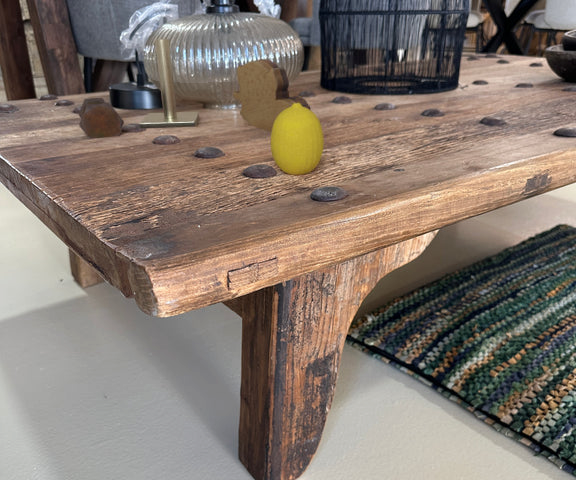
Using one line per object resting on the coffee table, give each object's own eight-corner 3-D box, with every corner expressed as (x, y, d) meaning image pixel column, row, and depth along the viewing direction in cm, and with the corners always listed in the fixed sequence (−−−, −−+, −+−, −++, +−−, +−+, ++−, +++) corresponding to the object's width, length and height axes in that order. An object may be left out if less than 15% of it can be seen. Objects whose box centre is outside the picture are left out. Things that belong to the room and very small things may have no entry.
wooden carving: (321, 142, 76) (322, 62, 71) (295, 148, 74) (294, 65, 69) (250, 123, 88) (247, 53, 83) (225, 128, 85) (220, 56, 80)
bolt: (103, 134, 91) (112, 152, 78) (71, 120, 88) (75, 136, 76) (116, 99, 90) (128, 112, 77) (84, 84, 87) (91, 95, 74)
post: (141, 131, 84) (128, 41, 78) (149, 120, 91) (138, 37, 85) (195, 129, 84) (187, 40, 79) (199, 119, 92) (192, 36, 86)
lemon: (278, 189, 58) (276, 109, 55) (267, 174, 63) (264, 99, 59) (329, 185, 59) (331, 105, 56) (315, 170, 64) (315, 96, 60)
